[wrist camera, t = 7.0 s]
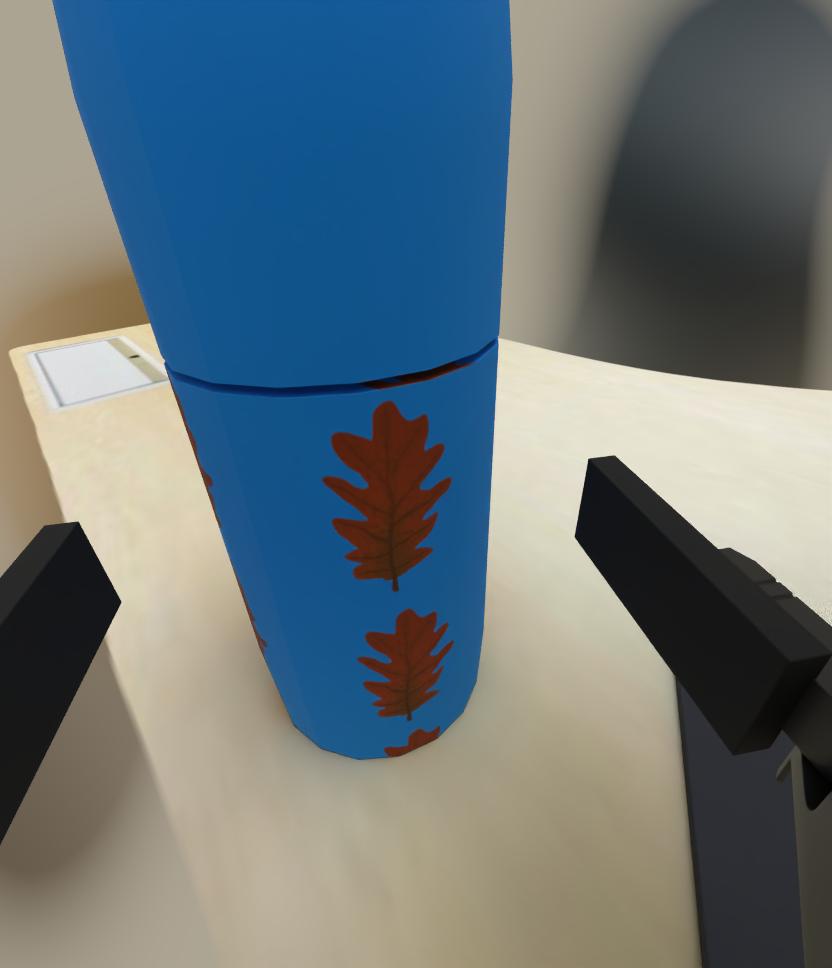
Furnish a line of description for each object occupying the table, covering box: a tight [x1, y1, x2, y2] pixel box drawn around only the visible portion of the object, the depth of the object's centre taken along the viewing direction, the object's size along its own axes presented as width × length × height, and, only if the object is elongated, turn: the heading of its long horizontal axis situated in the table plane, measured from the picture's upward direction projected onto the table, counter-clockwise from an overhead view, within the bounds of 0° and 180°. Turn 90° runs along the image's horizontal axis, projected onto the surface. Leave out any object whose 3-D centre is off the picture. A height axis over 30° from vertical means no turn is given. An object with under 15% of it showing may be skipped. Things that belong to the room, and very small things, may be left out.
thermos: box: [52, 0, 513, 759], centre depth 18 cm, size 11×11×25 cm
